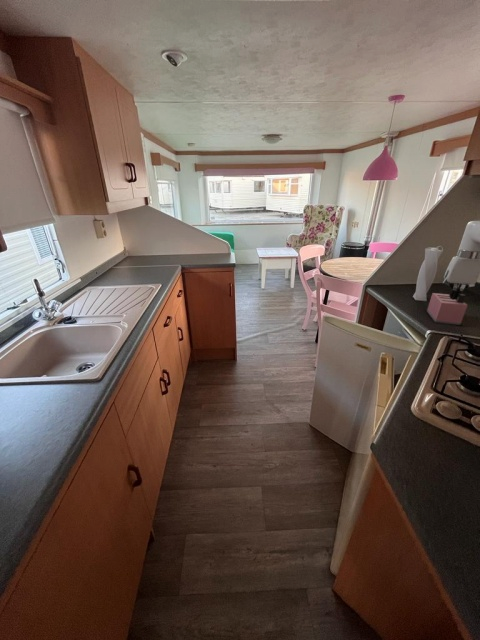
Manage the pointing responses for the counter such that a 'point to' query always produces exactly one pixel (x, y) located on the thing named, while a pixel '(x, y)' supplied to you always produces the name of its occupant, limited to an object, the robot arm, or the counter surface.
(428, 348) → the counter surface
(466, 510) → the counter surface
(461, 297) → the slider
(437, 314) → the toaster
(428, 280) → the skyscraper
